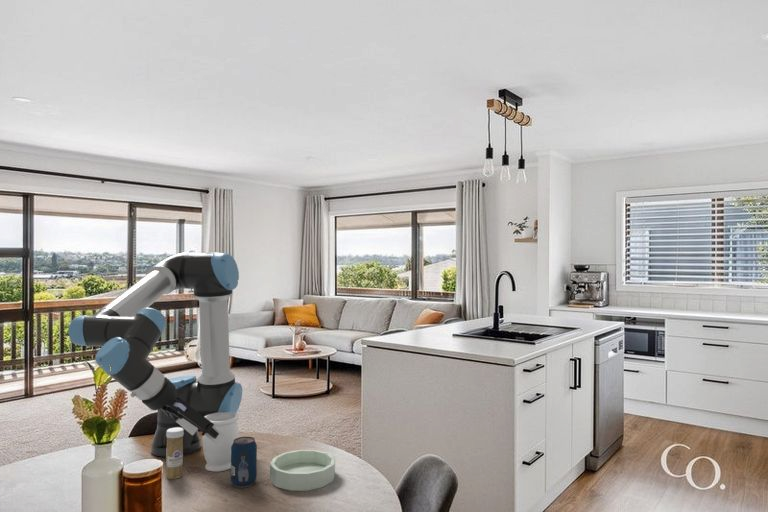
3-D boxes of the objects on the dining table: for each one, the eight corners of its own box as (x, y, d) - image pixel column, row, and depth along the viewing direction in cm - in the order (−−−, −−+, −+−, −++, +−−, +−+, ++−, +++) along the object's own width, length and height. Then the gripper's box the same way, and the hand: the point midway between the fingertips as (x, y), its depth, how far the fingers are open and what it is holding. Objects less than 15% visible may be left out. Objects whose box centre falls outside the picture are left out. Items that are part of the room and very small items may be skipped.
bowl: (262, 471, 152) (262, 456, 152) (319, 460, 161) (319, 446, 161) (283, 495, 136) (283, 478, 137) (345, 482, 146) (345, 465, 146)
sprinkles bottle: (171, 481, 145) (172, 432, 145) (162, 477, 148) (163, 429, 148) (186, 475, 149) (186, 428, 149) (177, 471, 151) (177, 425, 151)
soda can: (248, 476, 149) (248, 434, 149) (261, 483, 144) (261, 440, 144) (225, 483, 144) (226, 439, 144) (238, 490, 139) (239, 446, 139)
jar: (226, 475, 149) (227, 423, 150) (194, 472, 151) (195, 420, 152) (244, 461, 160) (244, 412, 160) (213, 458, 162) (214, 410, 162)
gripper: (120, 392, 131) (175, 438, 142) (166, 411, 115) (225, 461, 126) (141, 368, 136) (194, 414, 146) (189, 383, 119) (244, 434, 130)
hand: (208, 436), depth 136 cm, fingers open, 13 cm apart
